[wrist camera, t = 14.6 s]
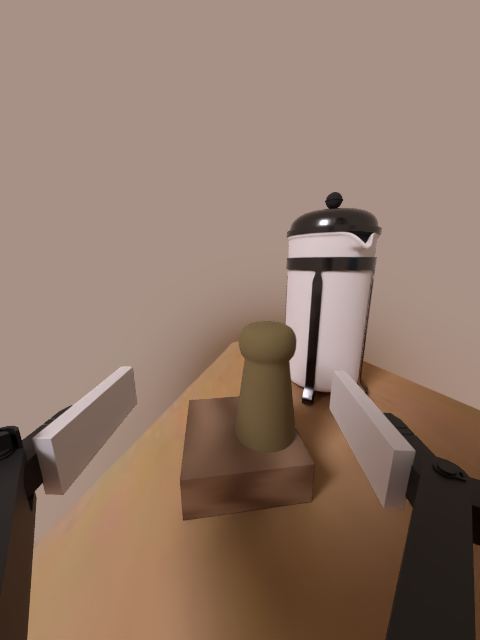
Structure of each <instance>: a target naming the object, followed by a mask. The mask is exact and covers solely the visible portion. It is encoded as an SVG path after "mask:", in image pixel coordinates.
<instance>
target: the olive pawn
mask: <svg viewBox="0 0 480 640" xmlns="http://www.w3.org/2000/svg"><path fill="white" fill-rule="evenodd" d="M296 342H297V340H296V335H295V333H294V331H293V329H292V328H291V327H289V326H288V325H285V324H282V323H278V322H271V321H262V322H254V323H251V324H248V325H247V326H245V327H244V328H243V330H242V331H241V333H240V337H239V347H240V351H241V354H242V356H243V357H244V358H245V362H244V369H243V376H242V383H241V390H240V397H239V404H238V411H237V418H236V425H235V434H236V436H237V438H238V440H239V441H240V442H241V443H242V444H243V445H245V446H246V447H248V448H250V449H252V450H254V451H259V452H264V453H271V452H278V451H281V450H284V449H286V448H287V447H289V446H290V445H291V444H292V443H293V441H294V439H295V421H294V409H293V398H292V386H291V375H290V363H289V361H290V360H291V358H292V357H293V356H294V354H295V351H296Z"/></svg>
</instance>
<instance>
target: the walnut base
mask: <svg viewBox="0 0 480 640" xmlns="http://www.w3.org/2000/svg"><path fill="white" fill-rule="evenodd" d="M239 397H240V396H239ZM239 397H226V398H214V399H201V400H189V408H188V417H187V425H186V434H185V442H184V451H183V459H182V468H181V476H180V487H181V500H182V513H183V520H190V519H197V518H204V517H210V516H217V515H224V514H231V513H238V512H244V511H251V510H258V509H265V508H272V507H278V506H285V505H292V504H299V503H306V502H312V491H313V480H314V469H315V463H314V461H313V459H312V458H311V456H310V454H309V452H308V450H307V448H306V446H305V445H304V443H303V441H302V439H301V437H300V435H299V434H298V432H297V430H296V428H295V439H294V441H293V443H292V444H291V445H290V446H289V447H287V448H286V449H284V450H281V451H278V452H271V453H264V452H259V451H254V450H252V449H250V448H248V447H246V446H245V445H243V444H242V443H241V442H240V441H239V440H238V438H237V436H236V434H235V425H236V418H237V411H238V404H239Z"/></svg>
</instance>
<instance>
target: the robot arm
mask: <svg viewBox="0 0 480 640" xmlns="http://www.w3.org/2000/svg"><path fill="white" fill-rule="evenodd" d="M136 404H137V398H136V389H135V381H134V372H133V367H126V366H122V367H120V368H119V369H118V370H117V371H115V372H114V373H113V374H112V375H110V376H109V377H108V378H107V379H105V380H104V381H103V382H102V383H100V384H99V385H98V386H97V387H95V388H94V389H93V390H92V391H90V392H89V393H88V394H87V395H85V396H84V397H83V398H82V399H80V400H79V401H78V402H77V403H75V404H74V405H71V406H69V407H67V408H65V409H63V410H61V411H59V412H58V413H57V414H56V415H54V416H53V417H52V418H51V419H49V420H48V421H46V422H45V423H44V425H41V426H40V427H39V428H37V429H36V430H35V431H34V432H32V433H31V434H30V435H28V436H27V437H26V438H25V439H23V440H21V436H20V432H19V429H18V427H16V426H7V427H2V428H0V640H27V634H28V619H29V604H30V589H31V574H32V559H33V544H34V528H35V513H36V494H35V490H36V489H37V488H38V487H39V486H40V485H41V484H42V483H43V485H44V489H45V493H46V494H54V495H64V493H65V492H66V491H67V490H68V488H69V487H70V486H71V485H72V483H73V482H74V481H75V480H76V478H77V477H78V476H79V475H80V474H81V472H82V471H83V470H84V469H85V467H86V466H87V465H88V464H89V462H90V461H91V460H92V459H93V457H94V456H95V455H96V454H97V452H98V451H99V450H100V449H101V448H102V446H103V445H104V444H105V443H106V441H107V440H108V439H109V438H110V436H111V435H112V434H113V433H114V431H115V430H116V429H117V428H118V426H119V425H120V424H121V422H122V421H123V420H124V419H125V418H126V417H127V415H128V414H129V413H130V411H131V410H132V409H133V408H134V407H135V405H136ZM329 409H330V410H331V412H332V414H333V416H334V418H335V420H336V422H337V423H338V425H339V427H340V429H341V431H342V433H343V435H344V436H345V438H346V440H347V442H348V444H349V446H350V447H351V449H352V451H353V453H354V455H355V457H356V459H357V460H358V462H359V464H360V466H361V468H362V470H363V472H364V473H365V475H366V477H367V479H368V481H369V483H370V485H371V486H372V488H373V490H374V492H375V494H376V496H377V497H378V499H379V501H380V503H381V505H382V507H383V509H400V510H404V505H405V500H406V498H407V499H408V501H409V502H410V504H411V505H412V507H413V511H412V515H411V520H410V524H409V529H408V534H407V539H406V544H405V549H404V553H403V558H402V563H401V568H400V572H399V577H398V582H397V587H396V592H395V596H394V601H393V606H392V611H391V615H390V620H389V625H388V630H387V634H386V639H385V640H476V638H475V603H474V568H473V543H474V544H476V545H479V546H480V480H477V479H474V478H470V477H469V476H468V475H467V474H466V473H465V471H464V470H462V469H461V468H460V467H458V466H457V465H456V464H454V463H452V462H450V461H448V460H445V459H442V458H439V457H436V456H435V455H434V454H433V453H432V452H431V451H430V450H429V449H428V448H427V447H426V446H425V445H424V444H423V442H422V441H421V440H420V439H419V438H418V437H417V436H415V435H414V433H413V432H412V431H411V430H410V429H408V427H407V426H406V425H405V424H404V423H403V422H402V421H401V420H400V419H399V418H397V417H396V416H394V415H392V414H391V413H382V412H381V411H380V410H379V408H378V407H377V406H376V405H375V404H374V403H373V402H372V400H371V399H370V398H369V397H368V396H367V395H366V394H365V392H364V391H363V390H362V389H361V388H360V387H359V386H358V384H357V383H356V382H355V381H354V380H353V379H352V378H351V377H350V375H349V374H348V373H347V372H346V371H339V370H333V377H332V387H331V397H330V407H329Z"/></svg>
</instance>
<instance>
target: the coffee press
mask: <svg viewBox="0 0 480 640" xmlns="http://www.w3.org/2000/svg"><path fill="white" fill-rule="evenodd" d="M342 201H343V199H342V196H341V195H340V194H339V193H337V192H333V193H331V194H330V195H329V196H328V197H327V199H326V201H325V202H326V205H327V207H328V208H329V209H323V210H318V211H313V212H310V213H306V214H304V215H302V216H300V217H299V218H297V219H296V220H295V221H294V222H293V224H292V226H291V229H290V231H288V232H287V238H288V241H289V258H287V269H288V276H287V294H286V295H287V296H286V317H285V325H288V326H289V327H291V328H292V329H293V331H294V333H295V335H296V340H297V342H296V351H295V354H294V356H293V357H292V358H291V360H290V361H289V363H290V375H291V381H293V382H294V383H296V384H297V385H299V386H302V387H304V392H303V396H302V403H304V404H308V405H311V406H312V403H313V400H314V396H315V392H316V391H320V392H331V387H332V377H333V370H339V371H346V372H347V373H348V374H349V375H350V377H351V378H352V379H353V380H354V381H355V382H356V383H357V381H358V379H359V373H360V383H361V385H362V386H363V388H364V389H365V391H366V392H365V394H366V395H367V393H368V388H367V386H366V385H365V383H364V382H363V380H362V365H363V357H364V350H365V342H366V334H367V326H368V319H369V311H370V303H371V295H372V288H373V281H374V273H375V265H376V257H375V250H376V243H377V239H378V238H379V236H380V235H381V230H382V229H381V228H380V227H378V222H377V219H376V217H375V216H374V215H373V214H371V213H370V212H368V211H365V210H361V209H354V208H338V207H339V206H340V205H341V203H342ZM372 274H373V278H372ZM371 281H372V285H371ZM370 289H371V293H370ZM369 297H370V300H369ZM368 305H369V308H368ZM367 312H368V316H367ZM366 320H367V325H366ZM365 328H366V331H365ZM364 335H365V339H364ZM363 343H364V347H363ZM362 350H363V355H362ZM361 358H362V363H361ZM360 366H361V371H360Z"/></svg>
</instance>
